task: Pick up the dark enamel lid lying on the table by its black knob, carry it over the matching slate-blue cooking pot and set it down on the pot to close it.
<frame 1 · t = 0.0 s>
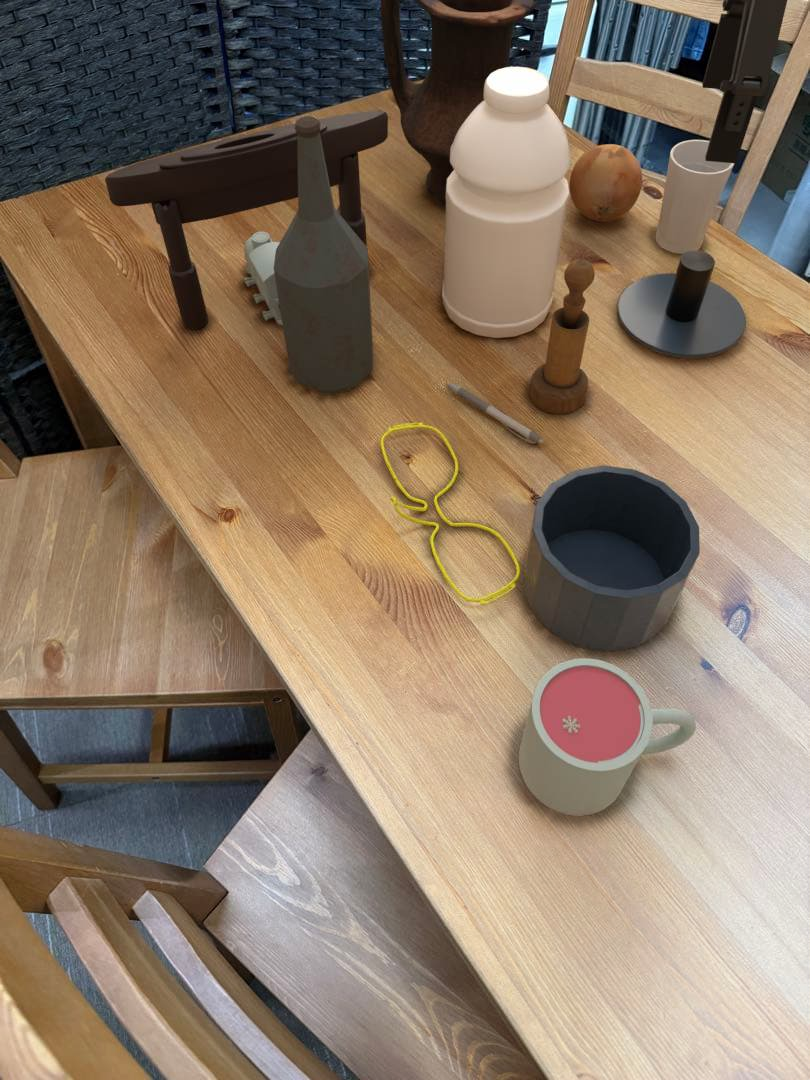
hand: (718, 122, 81), 28 cm above the table, tool pointing down, fingers open, 13 cm apart
mug: (598, 761, 73), on the table
pen: (492, 418, 98), on the table
cup: (678, 241, 117), on the table
bottle 2: (496, 305, 109), on the table
stool: (275, 293, 111), on the table
onion: (599, 216, 121), on the table
lid: (680, 315, 107), point 1 cm above the table
glasses: (436, 515, 89), on the table
mortar and pestle: (557, 395, 100), on the table
bottle: (332, 368, 103), on the table
jug: (456, 186, 126), on the table
pot: (597, 585, 84), on the table
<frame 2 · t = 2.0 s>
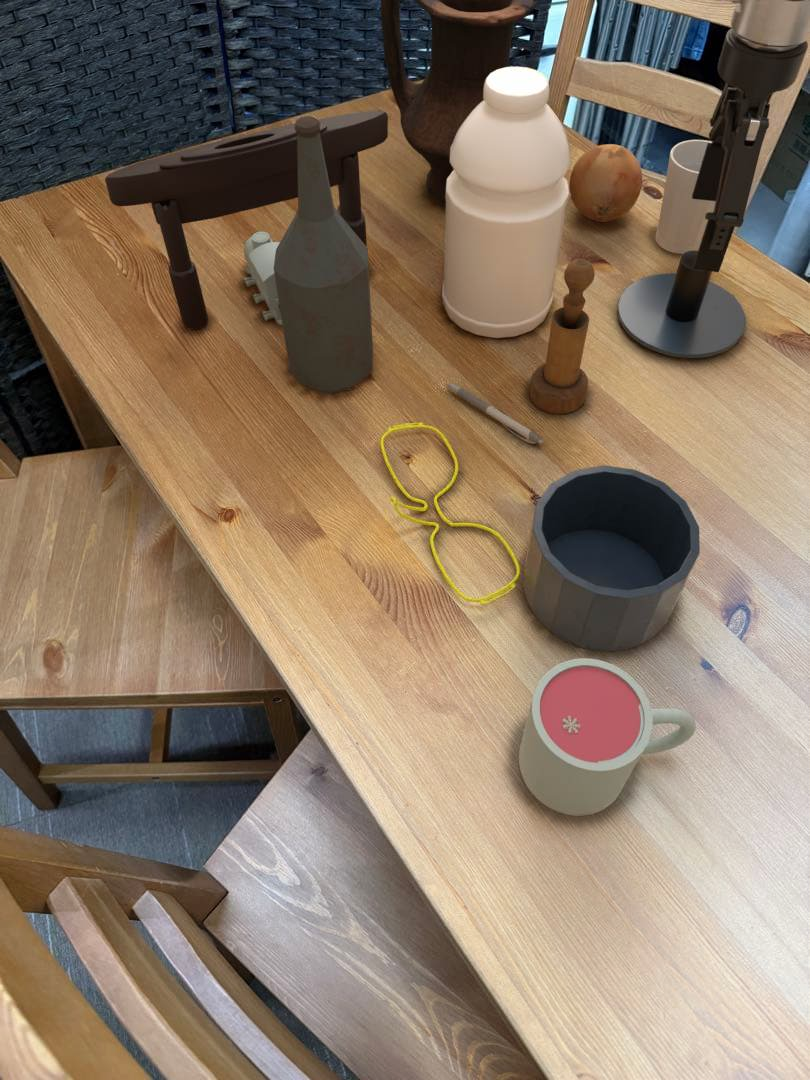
hand: (704, 232, 97), 12 cm above the table, tool pointing down, fingers open, 13 cm apart
nothing on the table moved.
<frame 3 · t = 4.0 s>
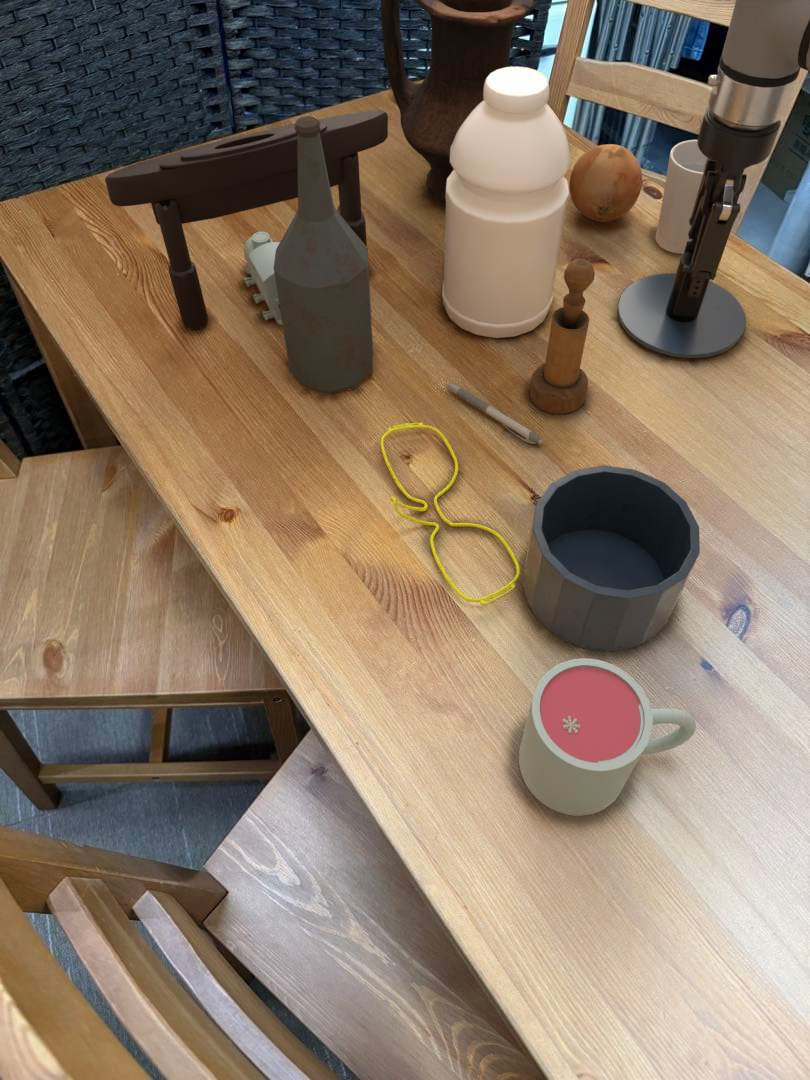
hand: (685, 301, 105), 3 cm above the table, tool pointing down, fingers closed on lid, 4 cm apart
lid: (680, 315, 107), point 1 cm above the table, touching gripper
everything else where it was.
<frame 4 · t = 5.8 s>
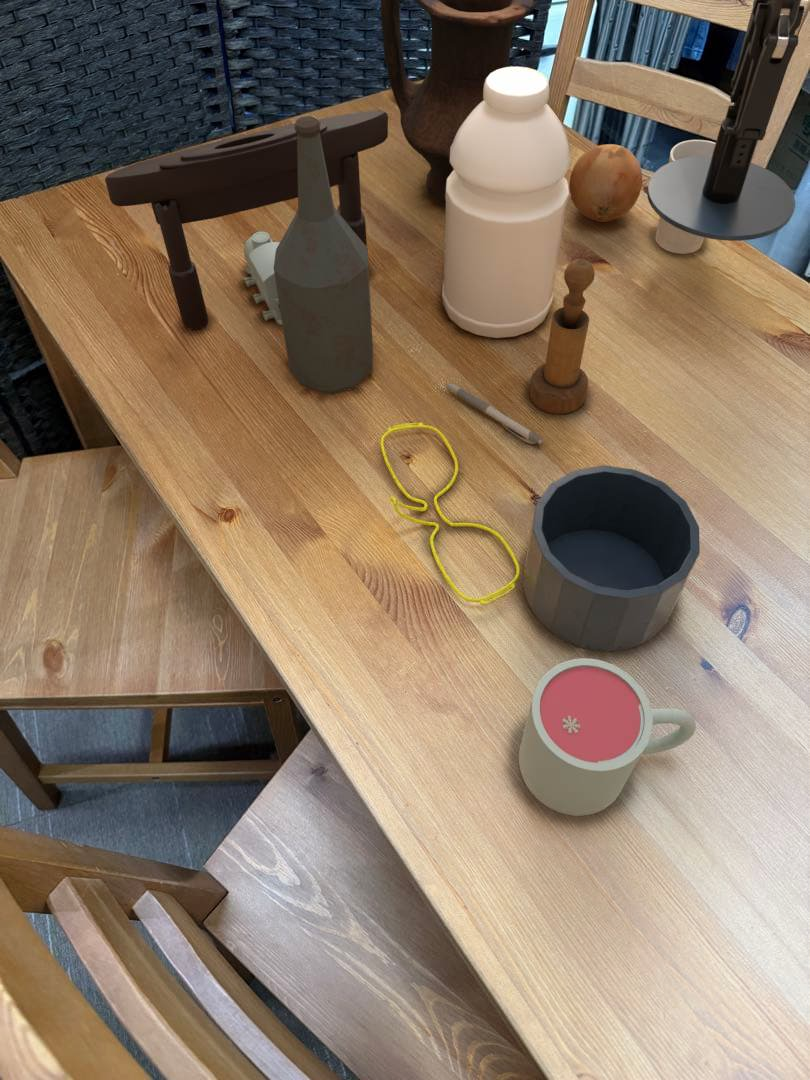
hand: (725, 179, 92), 19 cm above the table, tool pointing down, fingers closed on lid, 4 cm apart
lid: (719, 198, 93), point 17 cm above the table, touching gripper
everything else where it was.
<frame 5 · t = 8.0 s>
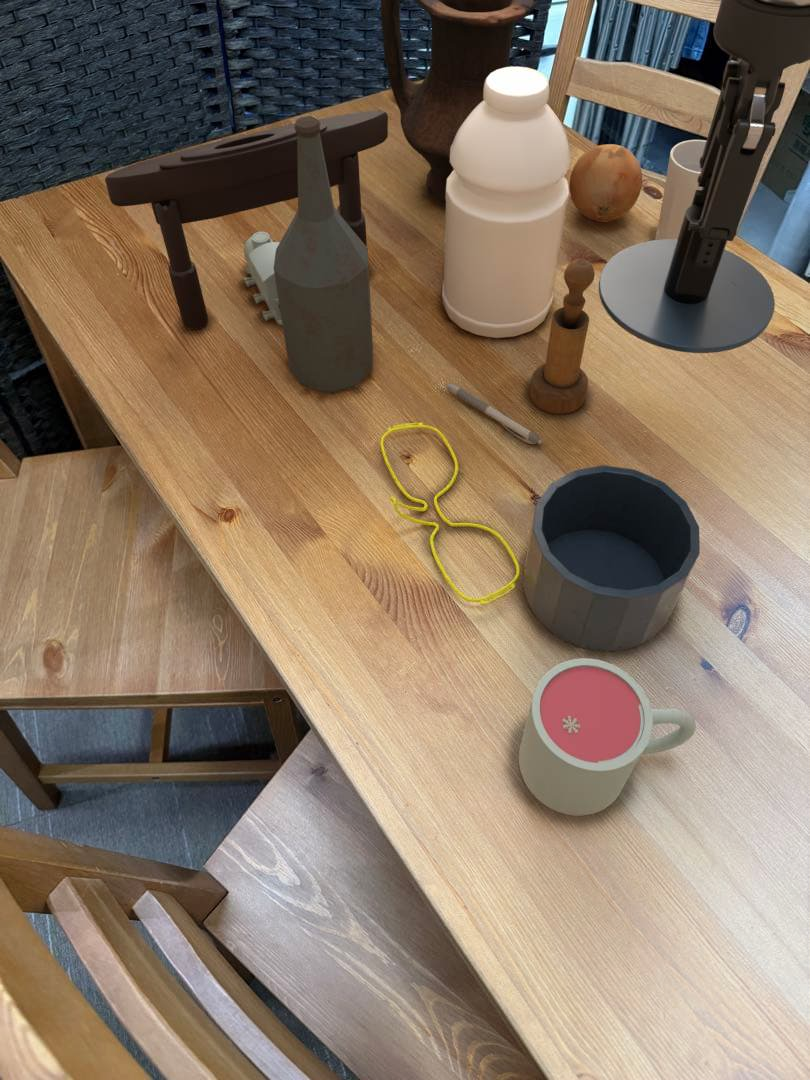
hand: (691, 275, 76), 23 cm above the table, tool pointing down, fingers closed on lid, 4 cm apart
lid: (684, 295, 78), point 21 cm above the table, touching gripper
everything else where it was.
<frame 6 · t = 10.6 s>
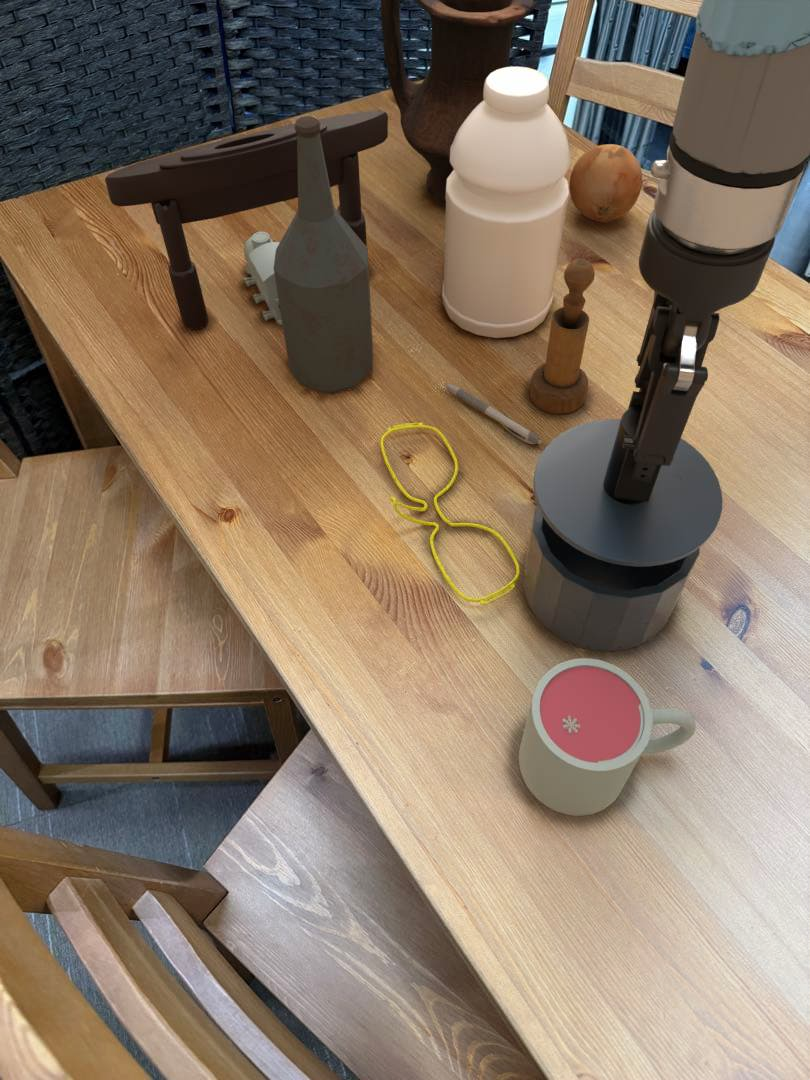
hand: (632, 473, 70), 17 cm above the table, tool pointing down, fingers closed on lid, 4 cm apart
lid: (625, 490, 72), point 15 cm above the table, touching gripper
everything else where it was.
when the fingers open (12 cm above the table, at t = 12.2 s): lid stays where it is, resting on pot.
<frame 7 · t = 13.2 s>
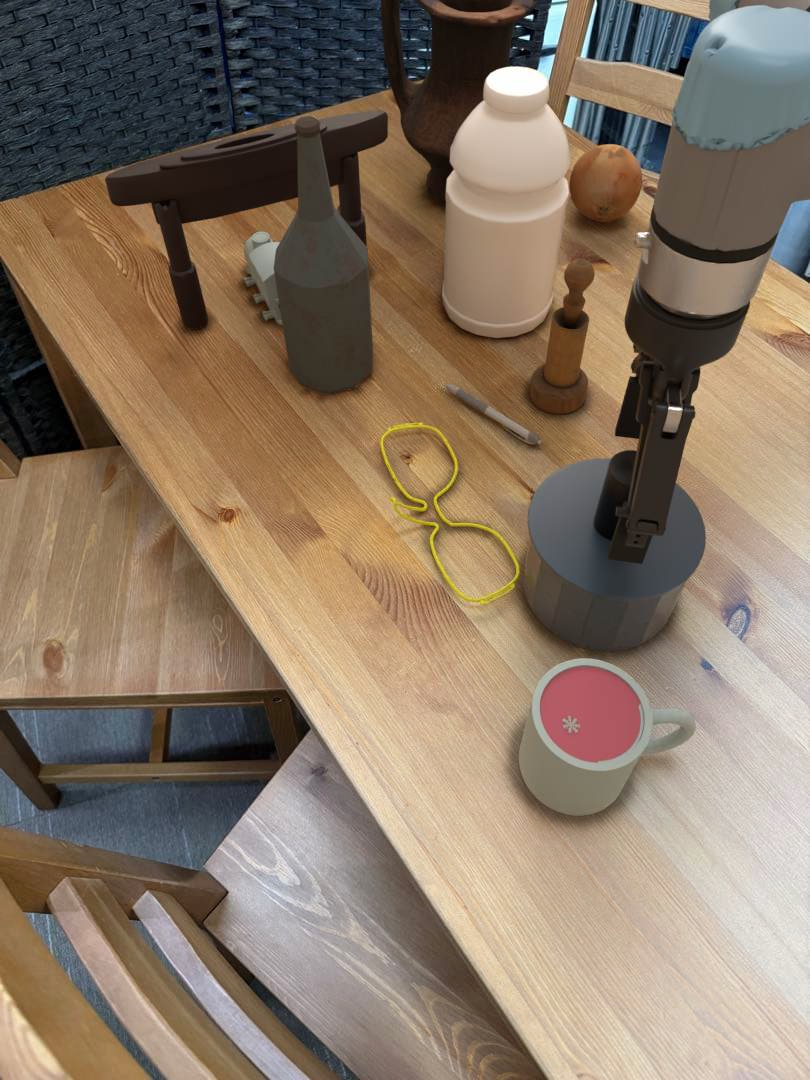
hand: (627, 493, 72), 14 cm above the table, tool pointing down, fingers open, 13 cm apart
lid: (614, 527, 76), point 9 cm above the table, touching pot
everything else where it was.
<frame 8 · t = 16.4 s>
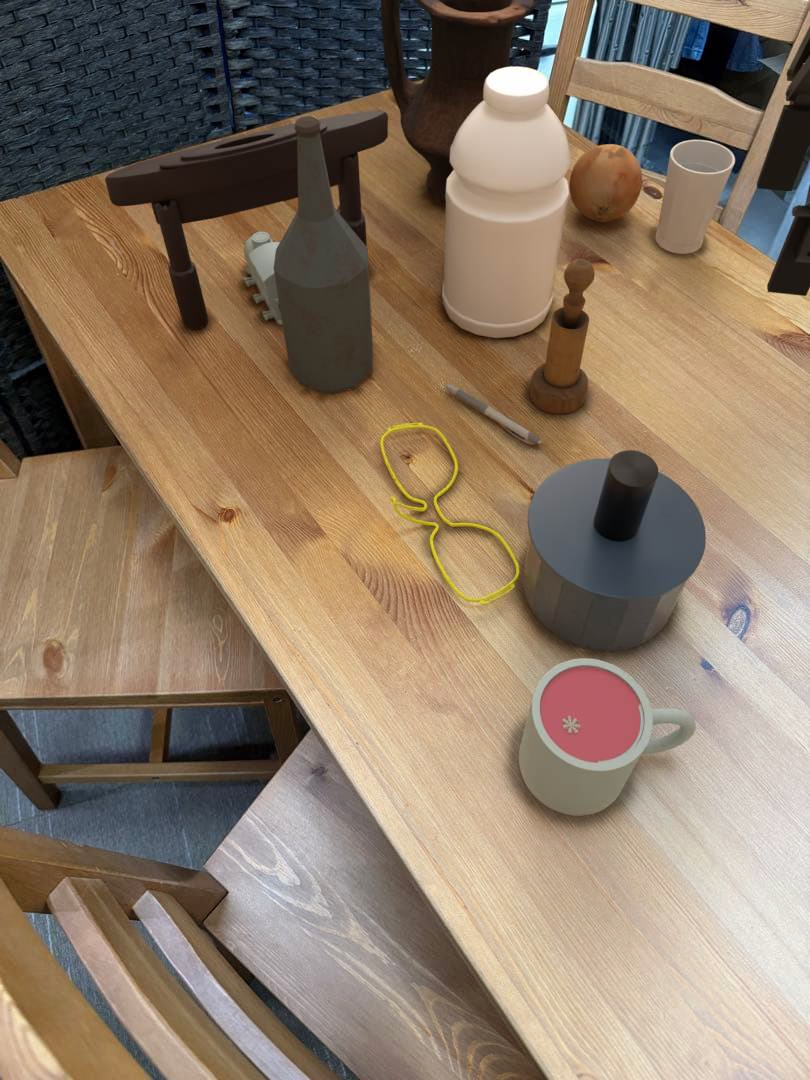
hand: (779, 236, 66), 31 cm above the table, tool pointing down, fingers open, 13 cm apart
nothing on the table moved.
at the end: lid 0.1 cm off-centre on the pot, point 9.5 cm above the pot's base; lid tilted 0° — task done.
